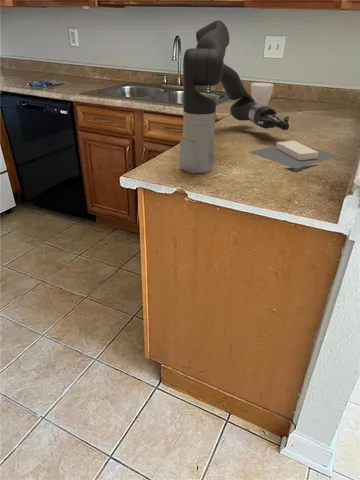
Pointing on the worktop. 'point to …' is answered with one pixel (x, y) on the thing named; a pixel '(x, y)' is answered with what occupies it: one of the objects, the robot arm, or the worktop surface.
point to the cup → (261, 92)
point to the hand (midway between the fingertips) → (286, 127)
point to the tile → (297, 150)
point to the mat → (291, 158)
